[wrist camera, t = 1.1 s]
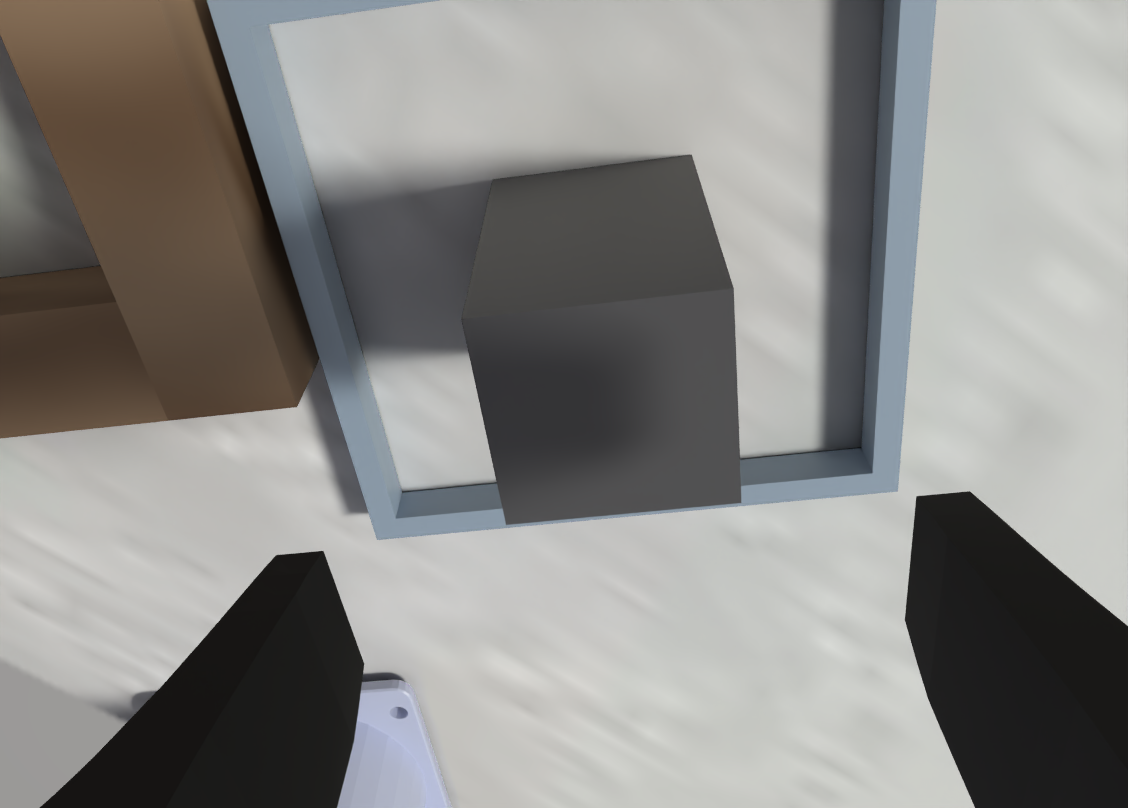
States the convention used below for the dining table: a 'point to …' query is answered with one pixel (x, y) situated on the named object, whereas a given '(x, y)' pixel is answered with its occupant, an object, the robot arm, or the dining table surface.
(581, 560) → the dining table surface
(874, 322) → the frame
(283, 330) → the socket block
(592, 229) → the plug
